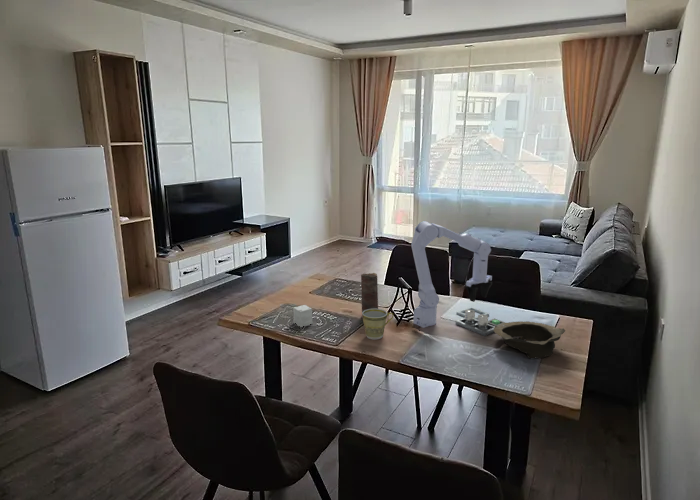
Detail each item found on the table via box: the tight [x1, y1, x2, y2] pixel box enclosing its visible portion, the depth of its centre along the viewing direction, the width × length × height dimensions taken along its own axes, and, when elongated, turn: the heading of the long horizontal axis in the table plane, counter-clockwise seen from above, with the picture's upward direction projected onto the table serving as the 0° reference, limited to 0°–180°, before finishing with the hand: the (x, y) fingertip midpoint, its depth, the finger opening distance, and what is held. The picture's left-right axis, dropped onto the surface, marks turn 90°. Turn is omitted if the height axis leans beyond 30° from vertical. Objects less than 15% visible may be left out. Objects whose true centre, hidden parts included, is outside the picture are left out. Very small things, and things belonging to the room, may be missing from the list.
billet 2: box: [477, 313, 489, 331], centre depth 186 cm, size 4×4×6 cm
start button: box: [491, 319, 501, 325], centre depth 192 cm, size 3×3×2 cm
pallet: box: [455, 317, 495, 337], centre depth 189 cm, size 8×15×2 cm, turn 36°
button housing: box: [488, 317, 507, 326], centre depth 192 cm, size 6×6×2 cm
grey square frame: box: [456, 306, 490, 320], centre depth 203 cm, size 10×10×2 cm
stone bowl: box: [493, 320, 566, 359], centre depth 172 cm, size 25×25×9 cm
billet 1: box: [464, 310, 476, 325], centre depth 191 cm, size 4×4×6 cm
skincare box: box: [292, 304, 314, 328], centre depth 196 cm, size 6×6×7 cm
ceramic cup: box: [361, 308, 394, 341], centre depth 184 cm, size 13×10×10 cm
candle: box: [360, 272, 379, 313], centre depth 202 cm, size 8×7×20 cm
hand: (478, 299), depth 196 cm, fingers open, 7 cm apart
